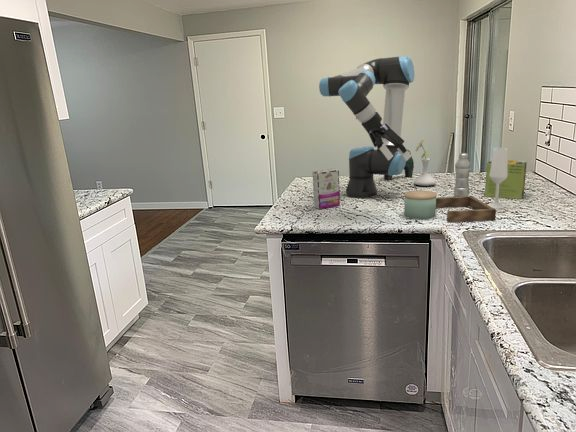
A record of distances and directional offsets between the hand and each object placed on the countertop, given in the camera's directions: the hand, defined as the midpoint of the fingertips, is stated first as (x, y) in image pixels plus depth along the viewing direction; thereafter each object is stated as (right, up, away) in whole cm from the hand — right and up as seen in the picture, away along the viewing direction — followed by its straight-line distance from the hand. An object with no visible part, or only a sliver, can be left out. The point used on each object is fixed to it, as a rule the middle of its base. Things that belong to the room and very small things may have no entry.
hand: (399, 158), depth 176 cm
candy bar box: (-27, -19, +21) cm, 39 cm away
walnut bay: (+24, -22, 0) cm, 32 cm away
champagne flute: (+42, -19, +7) cm, 47 cm away
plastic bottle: (+35, -15, +25) cm, 45 cm away
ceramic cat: (+18, -2, +75) cm, 77 cm away
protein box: (+54, -14, +24) cm, 61 cm away
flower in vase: (+26, -7, +54) cm, 60 cm away
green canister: (+8, -23, 0) cm, 24 cm away
